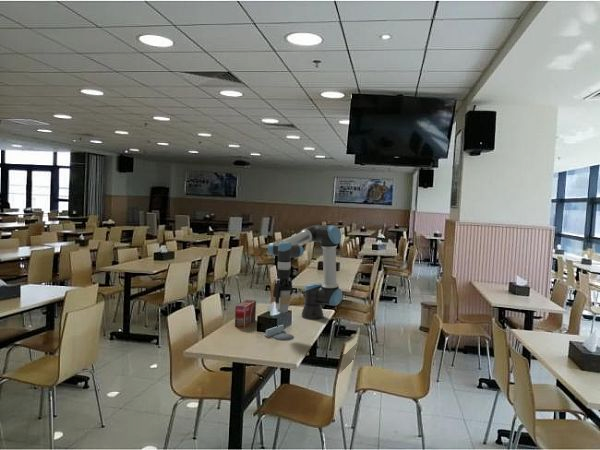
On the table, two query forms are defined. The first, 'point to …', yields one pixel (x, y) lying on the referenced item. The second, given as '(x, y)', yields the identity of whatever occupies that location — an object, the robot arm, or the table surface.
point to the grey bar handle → (274, 330)
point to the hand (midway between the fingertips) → (282, 307)
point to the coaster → (283, 336)
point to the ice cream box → (245, 313)
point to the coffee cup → (284, 298)
